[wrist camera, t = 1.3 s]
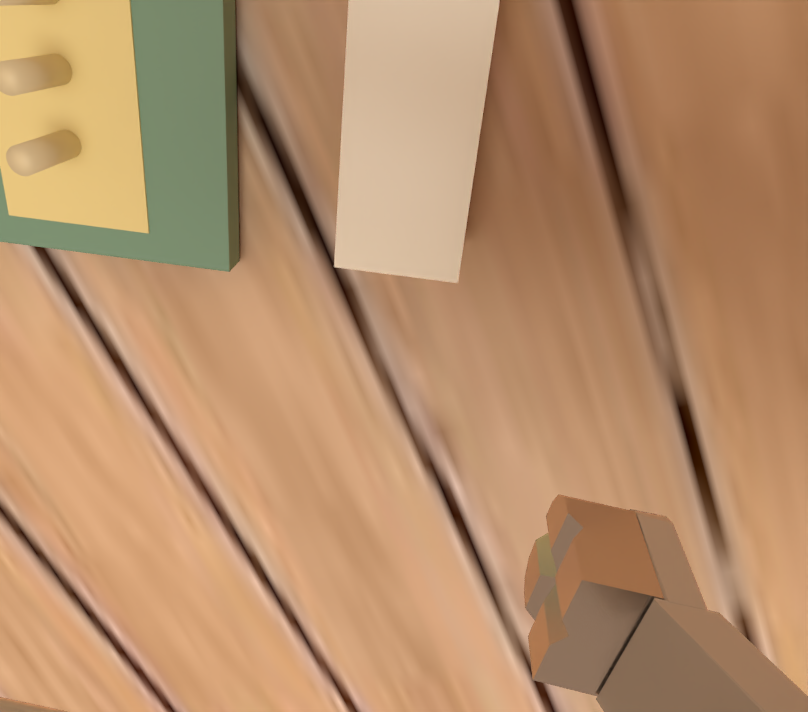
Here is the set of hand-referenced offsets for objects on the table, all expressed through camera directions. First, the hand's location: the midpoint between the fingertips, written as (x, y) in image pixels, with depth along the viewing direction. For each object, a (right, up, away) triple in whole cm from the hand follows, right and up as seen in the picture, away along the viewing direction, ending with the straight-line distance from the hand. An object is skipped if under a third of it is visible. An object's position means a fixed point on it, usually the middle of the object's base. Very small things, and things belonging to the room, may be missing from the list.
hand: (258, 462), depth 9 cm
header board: (-12, +14, +20) cm, 27 cm away
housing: (+3, +12, +20) cm, 23 cm away
